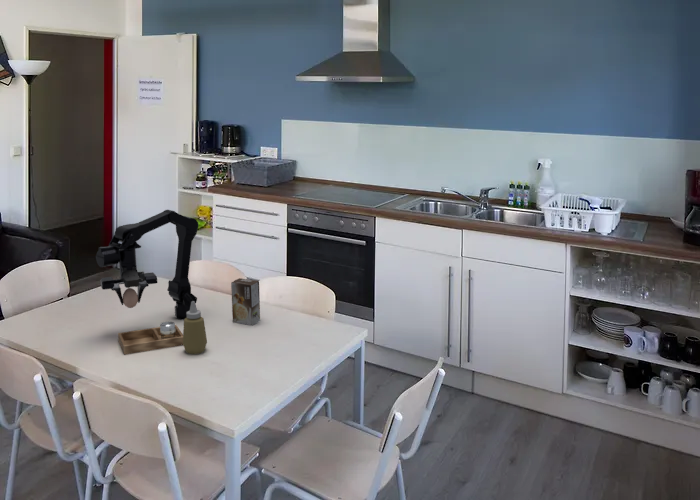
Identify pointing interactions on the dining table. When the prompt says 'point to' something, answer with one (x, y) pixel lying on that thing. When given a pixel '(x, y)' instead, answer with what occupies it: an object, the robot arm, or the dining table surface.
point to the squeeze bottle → (194, 331)
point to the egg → (130, 298)
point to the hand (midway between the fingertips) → (130, 303)
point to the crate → (147, 340)
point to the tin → (167, 330)
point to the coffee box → (245, 301)
